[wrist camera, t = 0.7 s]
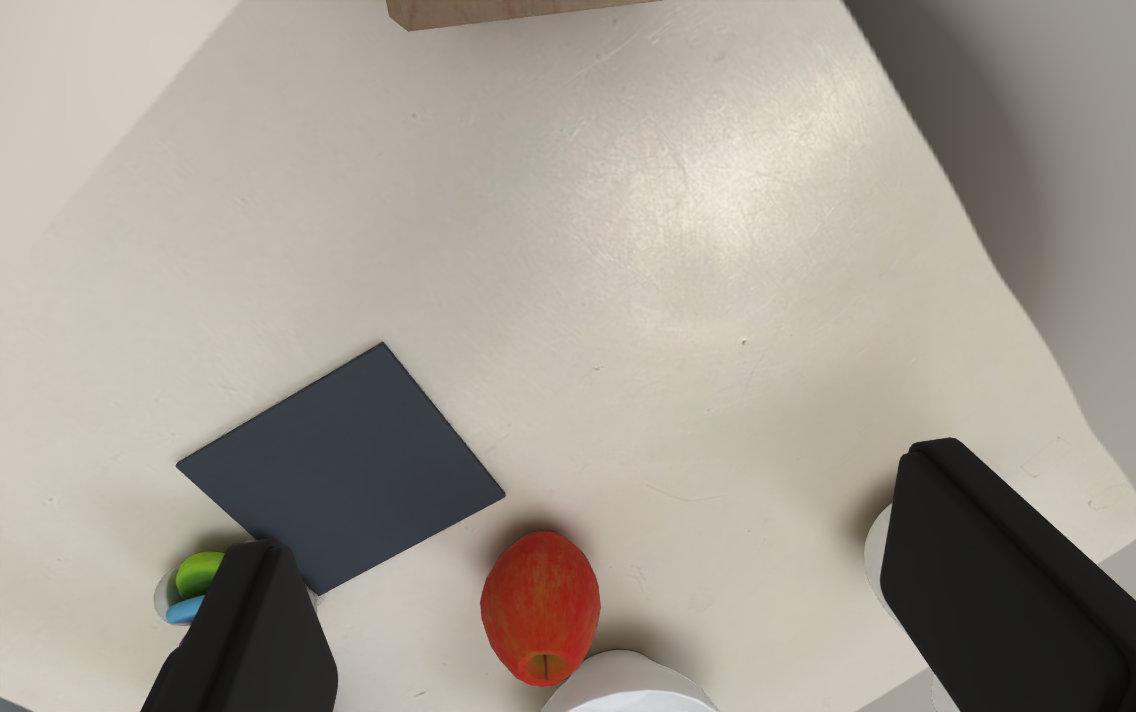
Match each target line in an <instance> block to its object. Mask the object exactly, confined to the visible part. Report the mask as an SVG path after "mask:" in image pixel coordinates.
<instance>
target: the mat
mask: <svg viewBox="0 0 1136 712" xmlns="http://www.w3.org/2000/svg"><path fill="white" fill-rule="evenodd" d="M176 467H177V468H178V469H179V470H180V471H181V472H182V473H183V474H184V475H185V476H187V477H188V478H189V479H190V480H191V481H192V482H193V483H194V484H195V485H196V486H198V487H199V488H200V489H201V490H202V491H203V492H204V493H205V494H206V495H208V496H209V497H210V498H211V499H212V500H213V501H214V502H215V503H216V504H217V505H219V506H220V507H221V508H222V509H223V510H224V511H225V512H226V513H227V514H229V515H230V516H231V517H232V518H233V519H234V520H235V521H236V522H237V523H238V524H240V525H241V526H242V527H243V528H244V529H245V530H246V531H247V532H248V533H250V534H251V535H252V536H253V537H254V538H255V539H256V540H263V539H274V540H276V541H277V542H278V544H279V546H280V547H284V546H288V547H289V548H290V549H291V551H292V553H293V555H294V558H295V560H296V563H297V565H298V568H299V571H300V573H301V576H302V578H303V581H304V583H305V584H306V585H307V586H308V587H309V588H310V589H311V590H313V591H314V592H315V593H316V594H317V595H318V596H320V595H322V594H324V593H326V592H328V591H329V590H331V589H333V588H335V587H337V586H339V585H341V584H343V583H344V582H346V581H348V580H350V579H352V578H354V577H356V576H358V575H360V574H361V573H363V572H365V571H367V570H369V569H371V568H373V567H375V566H376V565H378V564H380V563H382V562H384V561H386V560H388V559H390V558H391V557H393V556H395V555H397V554H399V553H401V552H403V551H405V550H407V549H408V548H410V547H412V546H414V545H416V544H418V543H420V542H422V541H423V540H425V539H427V538H429V537H431V536H433V535H435V534H437V533H438V532H440V531H442V530H444V529H446V528H448V527H450V526H452V525H454V524H455V523H457V522H459V521H461V520H463V519H465V518H467V517H469V516H470V515H472V514H474V513H476V512H478V511H480V510H482V509H484V508H485V507H487V506H489V505H491V504H493V503H495V502H497V501H499V500H501V499H502V498H504V497H505V493H504V491H503V490H502V489H501V488H500V486H499V485H498V484H497V483H496V481H495V480H494V479H493V478H492V476H491V475H490V474H489V473H488V472H487V470H486V469H485V468H484V467H483V465H482V464H481V463H480V462H479V460H478V459H477V458H476V457H475V455H474V454H473V453H472V452H471V450H470V449H469V448H468V447H467V445H466V444H465V443H464V442H463V440H462V439H461V438H460V437H459V435H458V434H457V433H456V432H455V431H454V429H453V428H452V427H451V426H450V424H449V423H448V422H447V421H446V419H445V418H444V417H443V416H442V414H441V413H440V412H439V411H438V409H437V408H436V407H435V406H434V404H433V403H432V402H431V401H430V399H429V398H428V397H427V396H426V394H425V393H424V392H423V391H422V390H421V388H420V387H419V386H418V385H417V383H416V382H415V381H414V380H413V378H412V377H411V376H410V375H409V373H408V372H407V371H406V370H405V368H404V367H403V366H402V365H401V363H400V362H399V361H398V360H397V358H396V357H395V356H394V355H393V353H392V352H391V351H390V350H389V349H388V347H387V346H386V345H385V344H384V342H382V343H381V344H379V345H377V346H376V347H374V348H372V349H370V350H369V351H367V352H365V353H364V354H362V355H360V356H358V357H357V358H355V359H353V360H352V361H350V362H348V363H347V364H345V365H343V366H341V367H340V368H338V369H336V370H335V371H333V372H331V373H330V374H328V375H326V376H324V377H323V378H321V379H319V380H318V381H316V382H314V383H312V384H311V385H309V386H307V387H306V388H304V389H302V390H301V391H299V392H297V393H295V394H294V395H292V396H290V397H289V398H287V399H285V400H284V401H282V402H280V403H278V404H277V405H275V406H273V407H272V408H270V409H268V410H267V411H265V412H263V413H261V414H260V415H258V416H256V417H255V418H253V419H251V420H249V421H248V422H246V423H244V424H243V425H241V426H239V427H238V428H236V429H234V430H232V431H231V432H229V433H227V434H226V435H224V436H222V437H221V438H219V439H217V440H215V441H214V442H212V443H210V444H209V445H207V446H205V447H203V448H202V449H200V450H198V451H197V452H195V453H193V454H192V455H190V456H188V457H186V458H185V459H183V460H181V461H180V462H178V463H177V464H176Z"/></svg>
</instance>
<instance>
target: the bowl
mask: <svg viewBox="0 0 1136 712" xmlns="http://www.w3.org/2000/svg"><path fill="white" fill-rule="evenodd" d="M540 712H720V711H719V710H718V708H717V707H716V706H715V704H714V703H713V702H712V700H711V699H710V698H709V697H708V695H707V694H706V693H705V692H704V690H703V689H702V688H700V687H699V686H698V685H696V684H695V683H694V682H692V681H691V680H689V679H688V678H686V677H685V676H683V675H681V674H680V673H678V672H676V671H674V670H672V669H670V668H668V667H665V666H662V665H660V664H658V663H655V662H653V661H651V660H650V659H649V658H647V657H645V656H644V655H642V654H639V653H636V652H633V651H627V650H612V651H606V652H602V653H599V654H596V655H594V656H592V657H590V658H588V659H586V660H585V661H584V662H582V663H581V664H580V666H579V668H578V669H577V670H576V671H574V672H573V673H572V674H571V675H570V677H569V679H568V680H567V681H566V682H565V683H564V684H563V685H562V686H560V687H559V688H558V689H557V690H556V692H555V693H554V694H553V695H552V696H551V697H550V699H549V700H548V701H547V703H546V704H545V705H544V706H543V708H542V709H541V710H540Z"/></svg>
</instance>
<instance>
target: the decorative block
mask: <svg viewBox="0 0 1136 712" xmlns="http://www.w3.org/2000/svg"><path fill="white" fill-rule="evenodd" d="M653 1H661V0H386V2H387V7H388V12H389V17H391V18H392V19H393V20H394V21H396V22H397V23H398V24H399V25H400V26H402V27H403V28H404V29H405V30H407V31H416V30H424V29H433V28H441V27H449V26H457V25H465V24H473V23H481V22H490V21H498V20H506V19H514V18H522V17H530V16H538V15H547V14H555V13H563V12H571V11H579V10H587V9H596V8H604V7H612V6H620V5H628V4H636V3H644V2H653Z"/></svg>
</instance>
